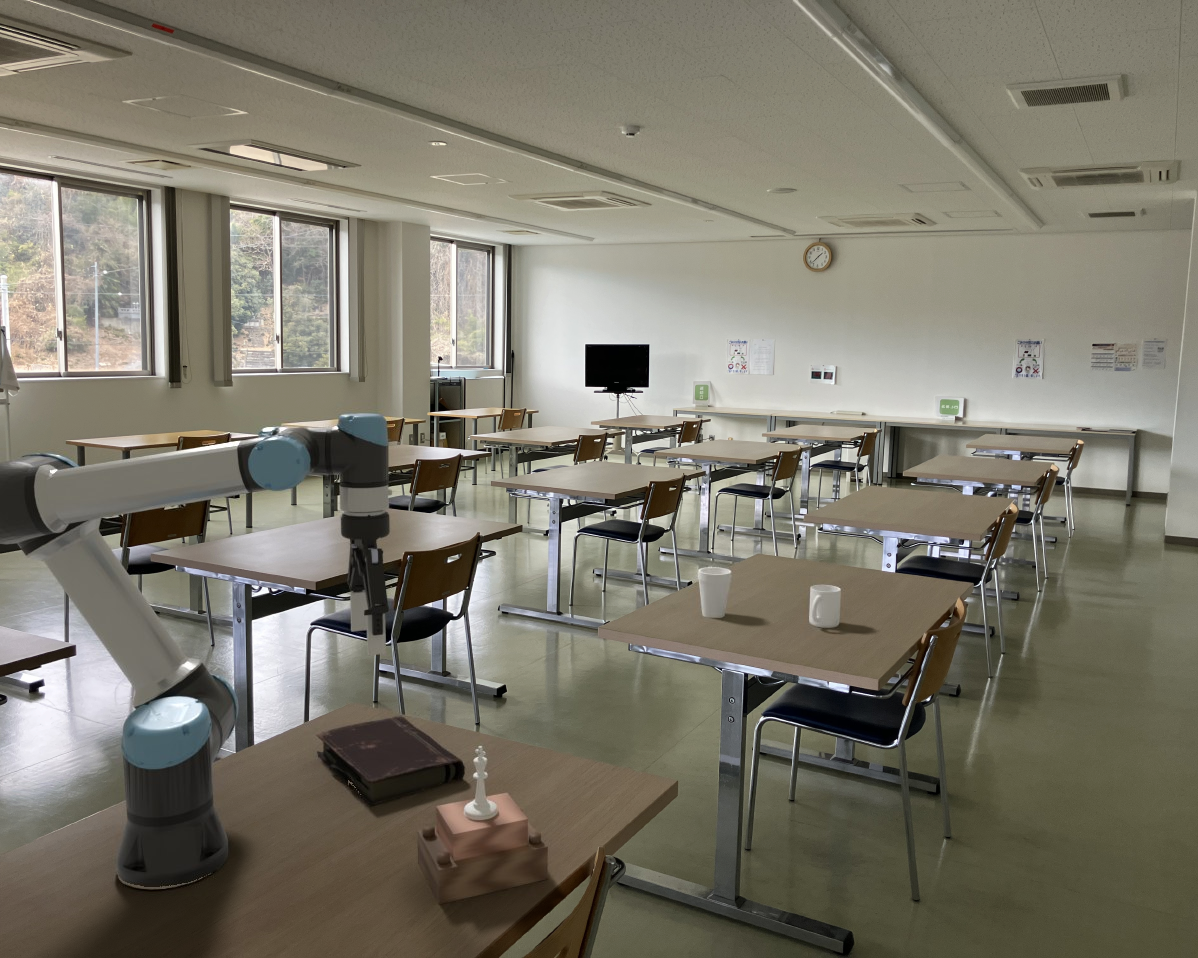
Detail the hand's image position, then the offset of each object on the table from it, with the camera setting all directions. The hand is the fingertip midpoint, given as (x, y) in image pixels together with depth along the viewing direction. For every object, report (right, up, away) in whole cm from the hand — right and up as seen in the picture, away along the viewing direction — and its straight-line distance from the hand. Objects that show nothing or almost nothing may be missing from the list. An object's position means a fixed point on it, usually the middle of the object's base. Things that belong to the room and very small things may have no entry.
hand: (367, 641), depth 155 cm
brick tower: (+20, -31, -14) cm, 40 cm away
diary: (-1, -27, +20) cm, 34 cm away
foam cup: (+70, -13, +122) cm, 142 cm away
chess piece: (+20, -22, -15) cm, 34 cm away
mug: (+99, -15, +113) cm, 151 cm away
